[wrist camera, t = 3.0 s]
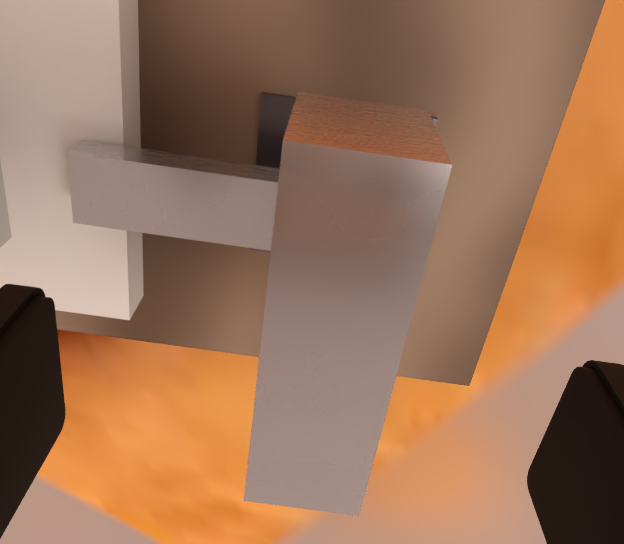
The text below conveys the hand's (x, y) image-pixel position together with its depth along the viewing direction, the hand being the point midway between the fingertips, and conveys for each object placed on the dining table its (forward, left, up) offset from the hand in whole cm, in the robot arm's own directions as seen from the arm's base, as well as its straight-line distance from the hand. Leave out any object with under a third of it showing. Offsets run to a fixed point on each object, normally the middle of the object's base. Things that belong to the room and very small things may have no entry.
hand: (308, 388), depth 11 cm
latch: (+3, 0, -8) cm, 9 cm away
